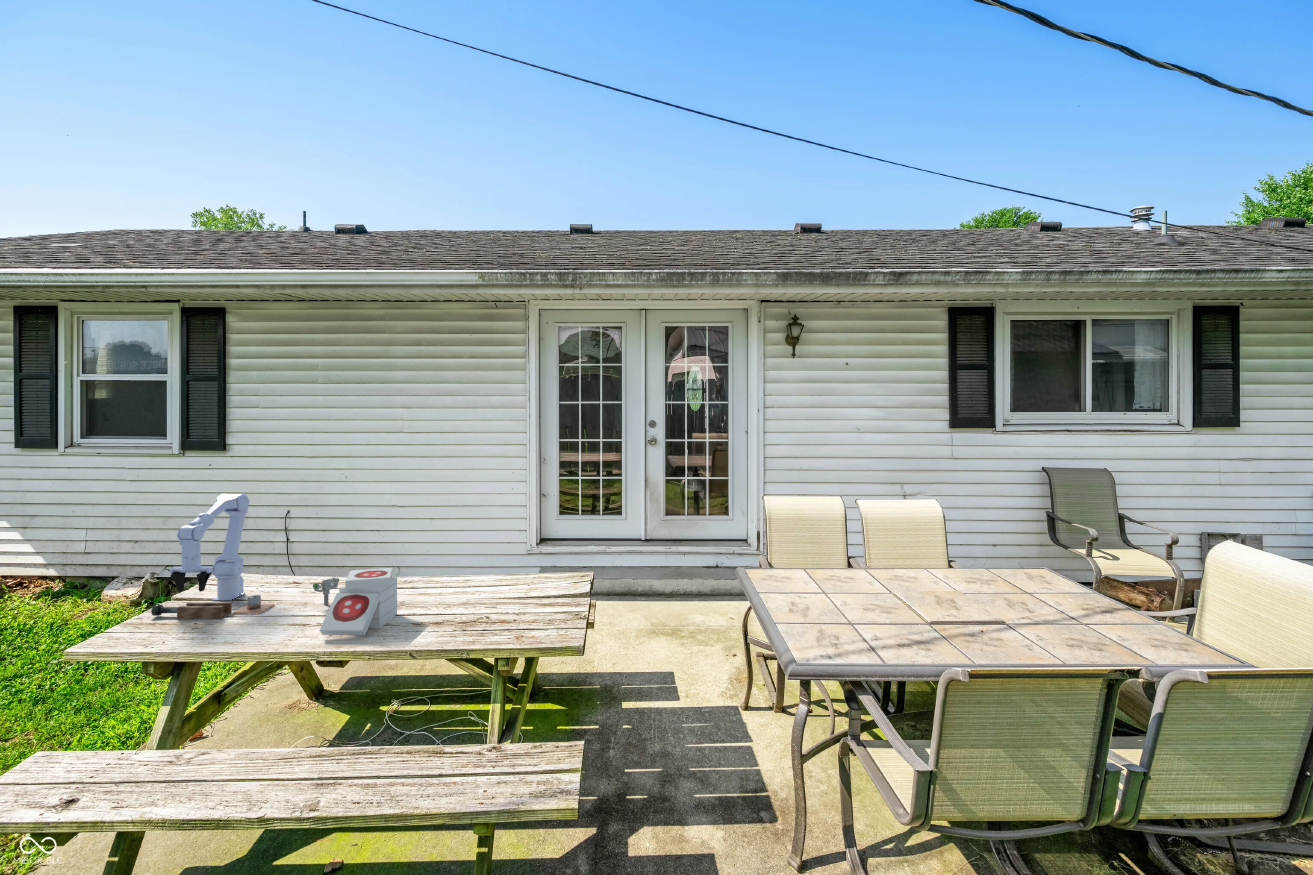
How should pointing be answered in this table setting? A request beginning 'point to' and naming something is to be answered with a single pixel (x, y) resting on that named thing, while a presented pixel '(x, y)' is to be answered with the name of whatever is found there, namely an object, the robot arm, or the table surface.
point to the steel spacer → (254, 602)
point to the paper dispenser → (362, 603)
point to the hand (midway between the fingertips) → (191, 590)
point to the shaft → (162, 610)
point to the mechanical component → (326, 587)
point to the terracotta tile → (260, 610)
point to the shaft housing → (204, 610)
